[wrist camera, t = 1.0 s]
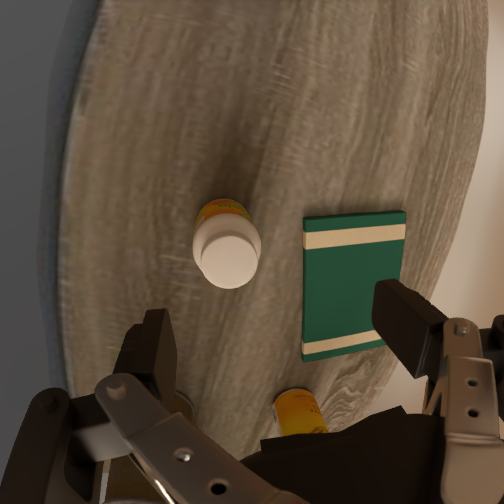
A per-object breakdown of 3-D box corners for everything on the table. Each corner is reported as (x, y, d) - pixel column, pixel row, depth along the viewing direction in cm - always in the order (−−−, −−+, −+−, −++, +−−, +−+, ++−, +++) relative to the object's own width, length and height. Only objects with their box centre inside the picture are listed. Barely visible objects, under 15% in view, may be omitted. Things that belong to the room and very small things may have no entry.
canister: (172, 376, 37) (165, 521, 18) (207, 422, 41) (217, 546, 22) (105, 394, 37) (75, 520, 18) (144, 436, 41) (135, 549, 22)
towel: (302, 217, 32) (305, 220, 31) (401, 210, 33) (406, 212, 32) (300, 357, 38) (303, 362, 37) (384, 340, 39) (388, 344, 38)
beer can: (315, 406, 42) (347, 488, 28) (275, 418, 42) (298, 503, 28) (310, 380, 40) (347, 469, 26) (267, 393, 40) (291, 486, 26)
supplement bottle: (259, 211, 31) (281, 243, 22) (236, 258, 32) (248, 307, 23) (208, 188, 29) (209, 212, 20) (186, 238, 31) (179, 282, 22)
